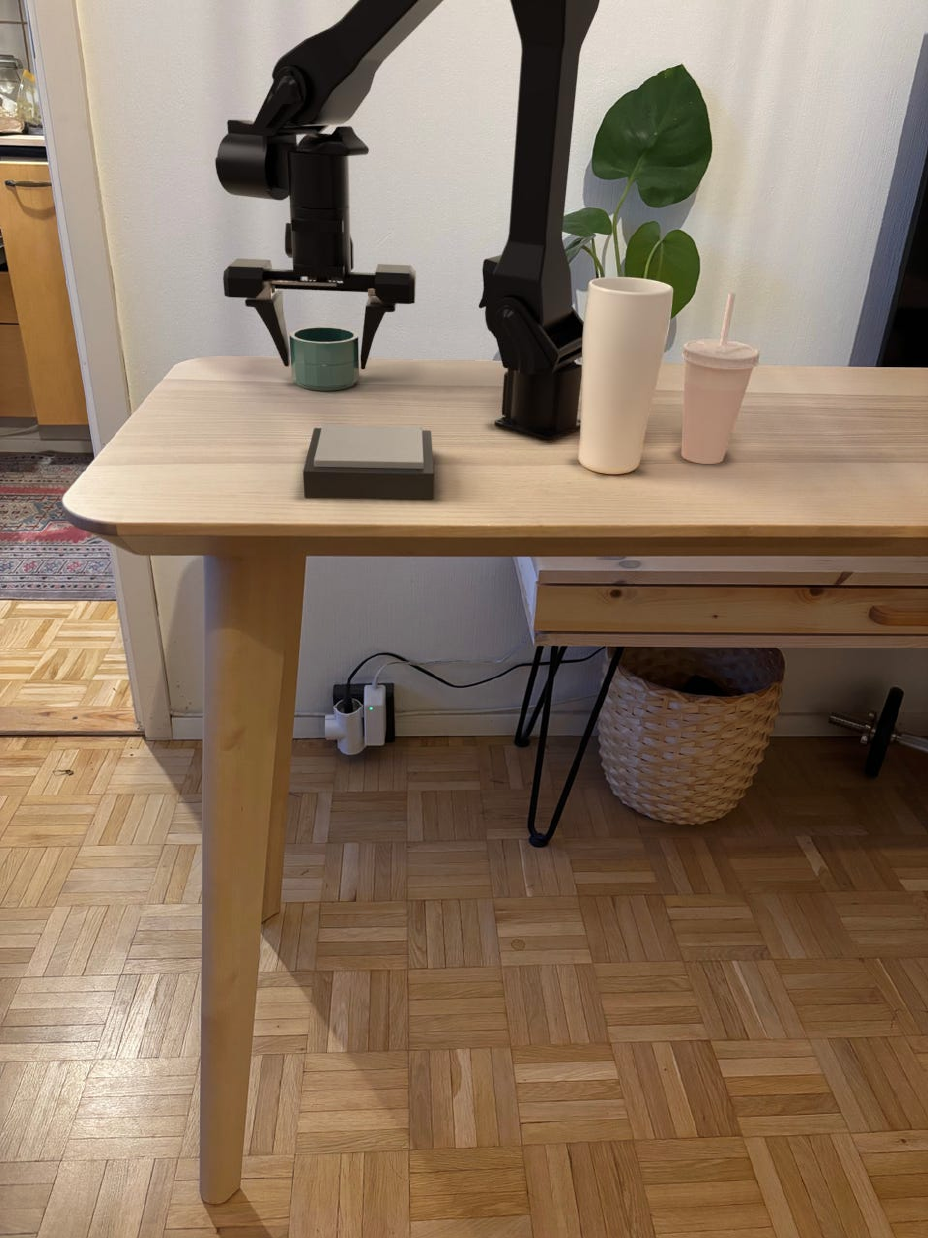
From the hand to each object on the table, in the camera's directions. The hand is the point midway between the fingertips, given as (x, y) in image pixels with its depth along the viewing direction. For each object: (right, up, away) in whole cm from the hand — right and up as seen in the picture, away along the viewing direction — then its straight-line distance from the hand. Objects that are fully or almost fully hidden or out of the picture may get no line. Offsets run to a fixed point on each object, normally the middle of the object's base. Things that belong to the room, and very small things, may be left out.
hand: (325, 366), depth 97 cm
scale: (+7, -15, -21) cm, 27 cm away
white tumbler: (+27, -13, -17) cm, 35 cm away
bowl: (0, -1, +1) cm, 2 cm away
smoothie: (+36, -12, -14) cm, 40 cm away
